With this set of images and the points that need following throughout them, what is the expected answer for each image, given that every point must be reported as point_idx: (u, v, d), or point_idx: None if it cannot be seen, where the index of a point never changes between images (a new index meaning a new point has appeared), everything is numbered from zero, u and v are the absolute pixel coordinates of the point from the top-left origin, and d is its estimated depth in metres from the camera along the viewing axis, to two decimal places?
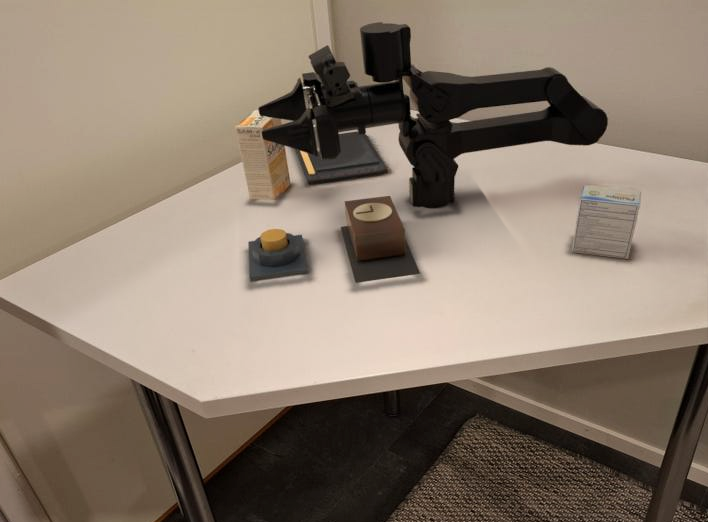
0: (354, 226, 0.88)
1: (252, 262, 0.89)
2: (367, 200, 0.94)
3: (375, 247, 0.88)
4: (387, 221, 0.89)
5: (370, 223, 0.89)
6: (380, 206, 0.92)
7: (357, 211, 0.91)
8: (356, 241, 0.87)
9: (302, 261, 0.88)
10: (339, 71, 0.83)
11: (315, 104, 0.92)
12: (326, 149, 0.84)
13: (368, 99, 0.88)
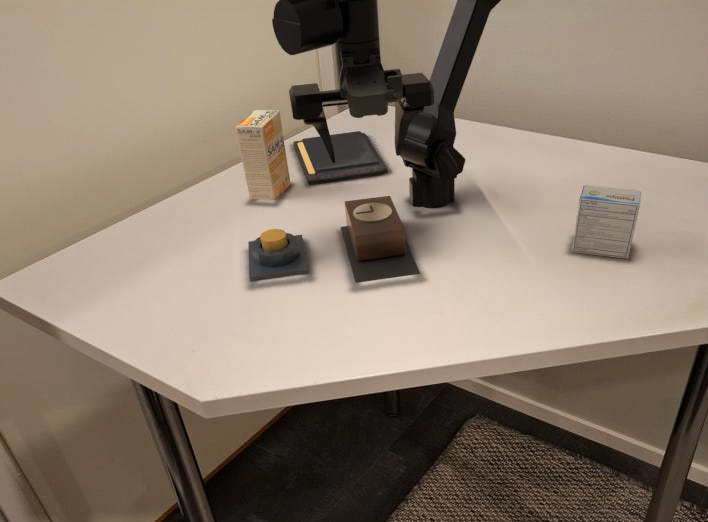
0: (354, 226, 0.88)
1: (252, 262, 0.89)
2: (367, 200, 0.94)
3: (375, 247, 0.88)
4: (387, 221, 0.89)
5: (370, 223, 0.89)
6: (380, 206, 0.92)
7: (357, 211, 0.91)
8: (356, 241, 0.87)
9: (302, 261, 0.88)
10: None
11: None
12: None
13: (376, 40, 0.78)
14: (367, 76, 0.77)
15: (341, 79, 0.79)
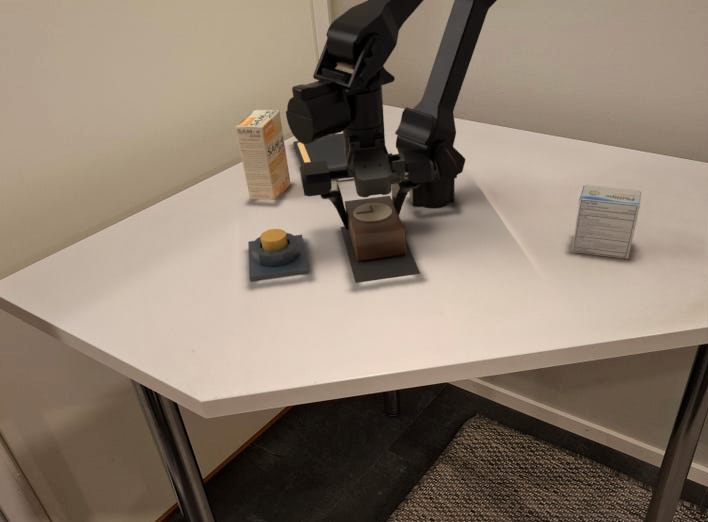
0: (354, 226, 0.88)
1: (252, 262, 0.89)
2: (367, 200, 0.94)
3: (375, 247, 0.88)
4: (387, 221, 0.89)
5: (370, 223, 0.89)
6: (380, 206, 0.92)
7: (357, 211, 0.91)
8: (356, 241, 0.87)
9: (302, 261, 0.88)
10: None
11: None
12: None
13: (381, 126, 0.85)
14: (373, 159, 0.84)
15: (348, 161, 0.85)
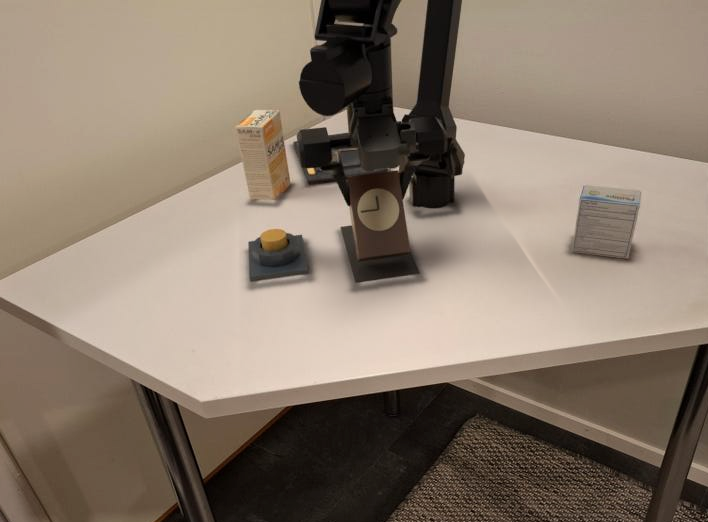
0: (359, 238, 0.84)
1: (252, 262, 0.89)
2: (372, 178, 0.84)
3: (377, 257, 0.87)
4: (394, 232, 0.85)
5: (375, 233, 0.84)
6: (387, 198, 0.84)
7: (362, 207, 0.84)
8: (360, 259, 0.85)
9: (302, 261, 0.88)
10: None
11: None
12: None
13: (389, 89, 0.75)
14: (379, 128, 0.74)
15: (352, 129, 0.76)
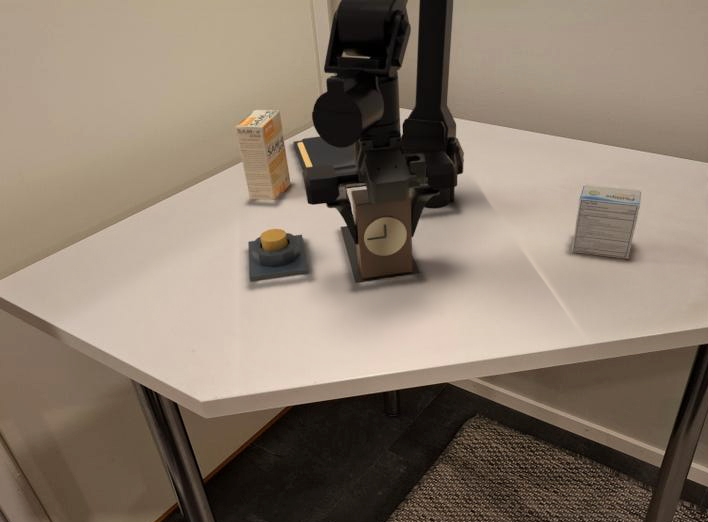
0: (363, 262, 0.83)
1: (252, 262, 0.89)
2: (382, 207, 0.79)
3: None
4: (398, 256, 0.84)
5: (380, 257, 0.83)
6: (395, 226, 0.81)
7: (369, 234, 0.81)
8: None
9: (302, 261, 0.88)
10: None
11: None
12: None
13: (397, 122, 0.73)
14: (387, 160, 0.72)
15: (359, 163, 0.74)
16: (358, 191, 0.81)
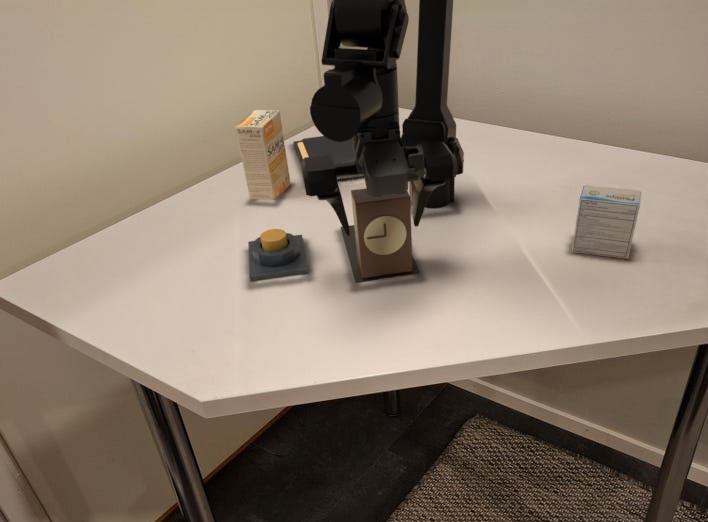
0: (363, 261, 0.83)
1: (252, 262, 0.89)
2: (382, 205, 0.79)
3: None
4: (398, 255, 0.84)
5: (379, 256, 0.83)
6: (395, 225, 0.81)
7: (368, 233, 0.81)
8: None
9: (302, 261, 0.88)
10: None
11: None
12: None
13: (395, 114, 0.73)
14: (386, 153, 0.72)
15: (358, 155, 0.73)
16: (358, 190, 0.81)
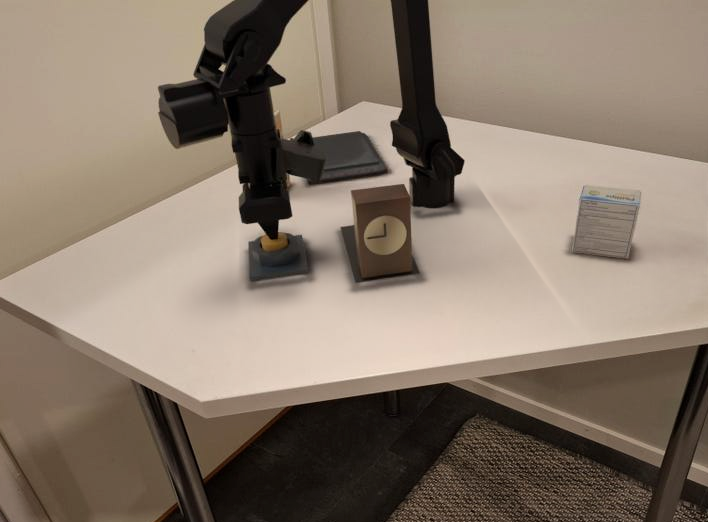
0: (363, 261, 0.83)
1: (252, 262, 0.89)
2: (382, 205, 0.79)
3: None
4: (398, 255, 0.84)
5: (379, 256, 0.83)
6: (395, 225, 0.81)
7: (368, 233, 0.81)
8: None
9: (302, 261, 0.88)
10: None
11: None
12: None
13: None
14: (298, 146, 0.81)
15: (284, 162, 0.79)
16: (358, 190, 0.81)
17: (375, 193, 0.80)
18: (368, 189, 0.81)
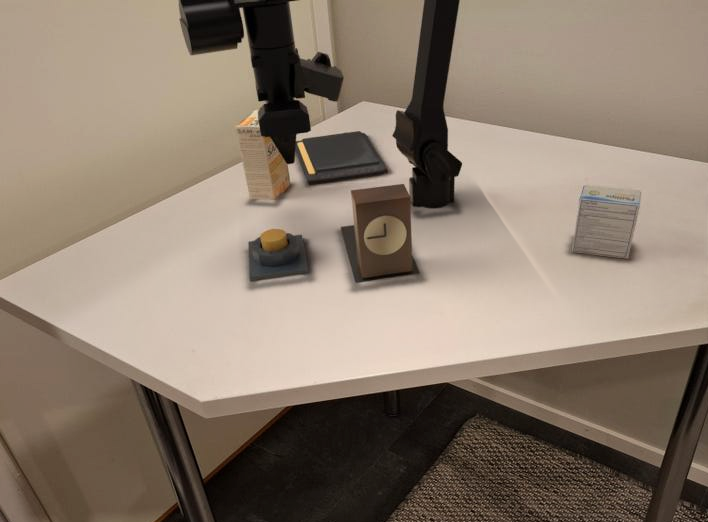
0: (363, 261, 0.83)
1: (252, 262, 0.89)
2: (382, 205, 0.79)
3: None
4: (398, 255, 0.84)
5: (379, 256, 0.83)
6: (395, 225, 0.81)
7: (368, 233, 0.81)
8: None
9: (302, 261, 0.88)
10: None
11: None
12: None
13: None
14: (315, 65, 0.82)
15: (302, 79, 0.80)
16: (358, 190, 0.81)
17: (375, 193, 0.80)
18: (368, 189, 0.81)
